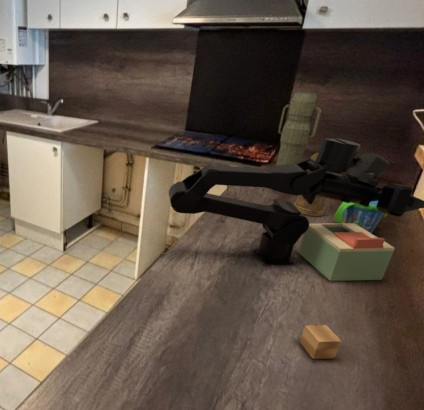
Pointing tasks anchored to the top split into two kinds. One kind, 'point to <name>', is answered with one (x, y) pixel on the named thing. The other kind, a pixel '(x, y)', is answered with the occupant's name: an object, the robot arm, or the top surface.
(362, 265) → the green box
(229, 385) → the top surface
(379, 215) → the snack cup
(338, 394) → the top surface
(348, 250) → the lid
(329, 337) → the block
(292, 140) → the thermos
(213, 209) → the robot arm
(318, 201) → the wooden mug
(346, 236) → the slider
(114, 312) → the top surface
